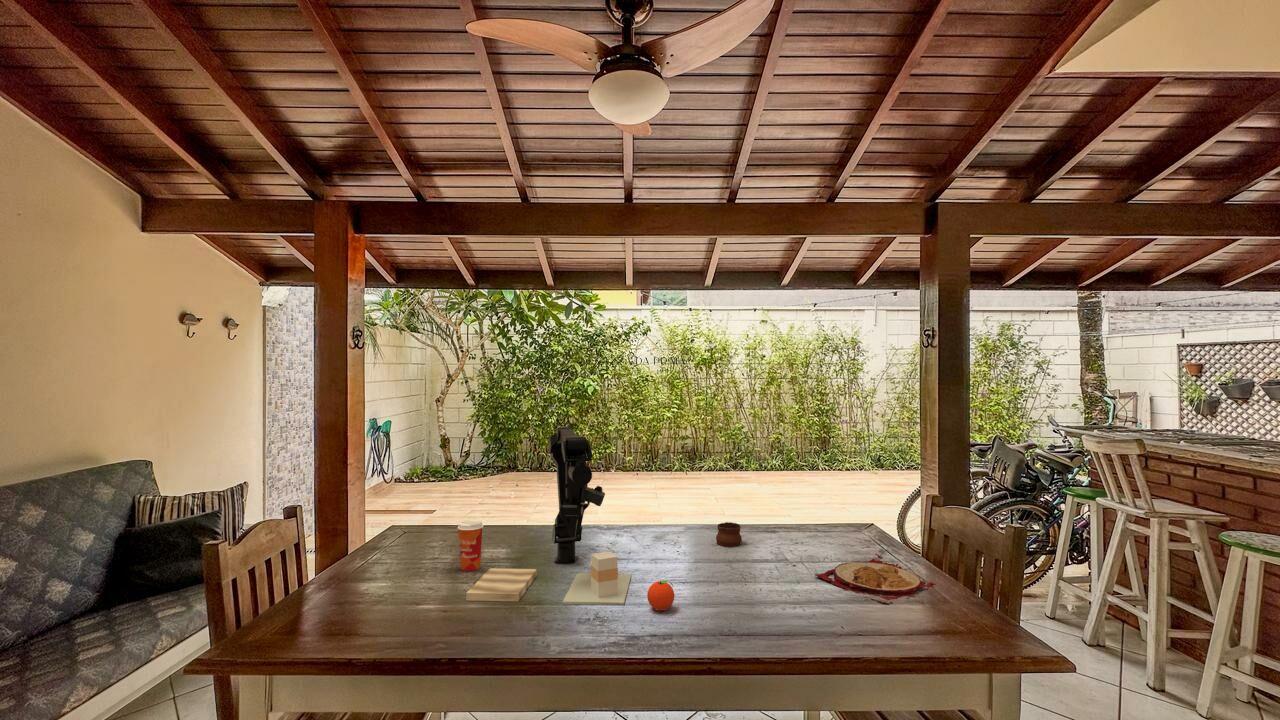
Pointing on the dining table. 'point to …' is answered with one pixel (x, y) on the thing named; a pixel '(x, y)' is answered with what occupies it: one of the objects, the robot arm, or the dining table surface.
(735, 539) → the ceramic pot
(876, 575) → the plate with food
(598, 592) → the carton
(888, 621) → the dining table surface
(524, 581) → the board
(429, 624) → the dining table surface
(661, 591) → the clementine
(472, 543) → the paper cup
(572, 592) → the mat
